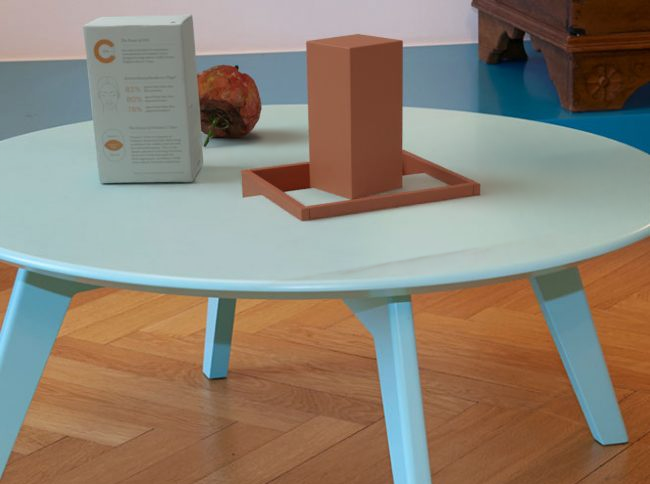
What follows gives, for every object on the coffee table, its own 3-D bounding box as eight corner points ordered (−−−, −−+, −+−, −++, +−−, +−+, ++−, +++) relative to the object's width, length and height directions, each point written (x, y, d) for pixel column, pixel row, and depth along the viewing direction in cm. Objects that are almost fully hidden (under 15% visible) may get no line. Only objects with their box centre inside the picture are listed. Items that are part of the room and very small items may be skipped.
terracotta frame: (403, 180, 94) (403, 149, 93) (479, 217, 84) (480, 183, 83) (242, 202, 89) (240, 169, 88) (302, 245, 78) (301, 209, 78)
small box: (204, 164, 100) (194, 13, 95) (193, 183, 94) (182, 22, 90) (113, 165, 101) (99, 14, 96) (97, 184, 95) (81, 24, 90)
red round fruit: (251, 170, 107) (291, 91, 111) (212, 118, 102) (255, 37, 106) (191, 169, 111) (231, 93, 115) (150, 119, 106) (195, 41, 110)
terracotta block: (359, 189, 89) (358, 33, 85) (402, 202, 86) (403, 40, 81) (310, 201, 87) (305, 40, 82) (352, 214, 83) (350, 47, 78)
